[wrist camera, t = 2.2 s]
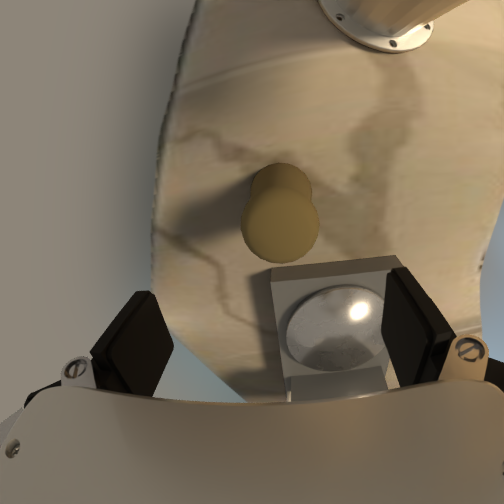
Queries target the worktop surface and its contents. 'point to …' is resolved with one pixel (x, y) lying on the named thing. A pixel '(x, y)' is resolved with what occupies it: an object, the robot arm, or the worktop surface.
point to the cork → (280, 215)
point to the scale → (301, 287)
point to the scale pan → (336, 328)
